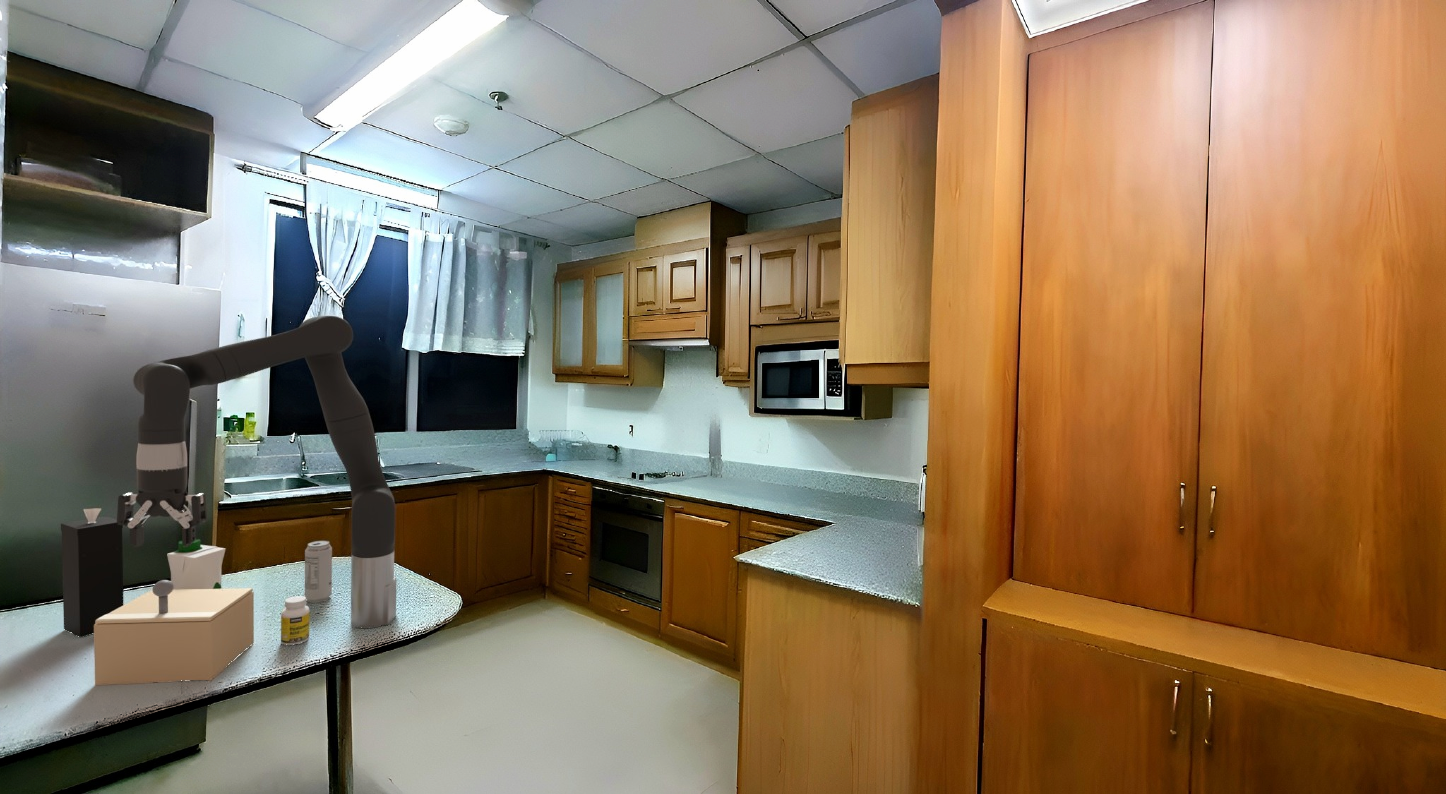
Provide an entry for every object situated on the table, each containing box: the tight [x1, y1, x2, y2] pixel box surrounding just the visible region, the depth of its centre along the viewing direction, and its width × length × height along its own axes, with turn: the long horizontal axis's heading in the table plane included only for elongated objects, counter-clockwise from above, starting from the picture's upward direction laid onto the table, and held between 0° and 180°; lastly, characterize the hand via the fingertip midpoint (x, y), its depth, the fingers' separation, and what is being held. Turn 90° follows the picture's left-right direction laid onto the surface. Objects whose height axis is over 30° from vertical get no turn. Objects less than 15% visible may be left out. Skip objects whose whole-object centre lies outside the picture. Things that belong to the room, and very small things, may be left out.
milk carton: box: [167, 538, 227, 590], centre depth 152 cm, size 9×9×20 cm
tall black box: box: [60, 507, 125, 638], centre depth 148 cm, size 8×8×28 cm
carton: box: [93, 591, 255, 686], centre depth 135 cm, size 20×16×12 cm
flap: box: [95, 579, 254, 624], centre depth 134 cm, size 20×16×7 cm
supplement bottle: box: [280, 595, 311, 646], centre depth 147 cm, size 5×5×10 cm
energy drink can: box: [304, 540, 333, 604], centre depth 171 cm, size 6×6×15 cm
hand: (163, 545), depth 129 cm, fingers open, 8 cm apart
